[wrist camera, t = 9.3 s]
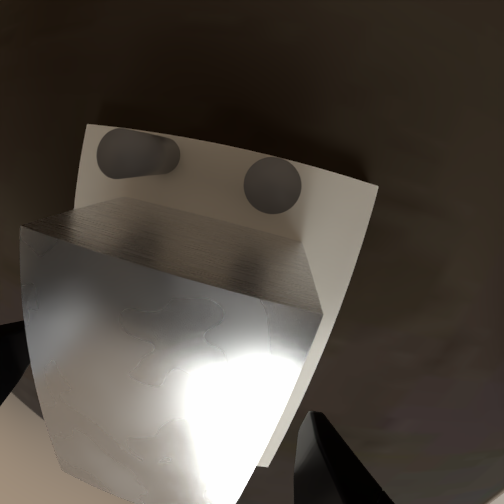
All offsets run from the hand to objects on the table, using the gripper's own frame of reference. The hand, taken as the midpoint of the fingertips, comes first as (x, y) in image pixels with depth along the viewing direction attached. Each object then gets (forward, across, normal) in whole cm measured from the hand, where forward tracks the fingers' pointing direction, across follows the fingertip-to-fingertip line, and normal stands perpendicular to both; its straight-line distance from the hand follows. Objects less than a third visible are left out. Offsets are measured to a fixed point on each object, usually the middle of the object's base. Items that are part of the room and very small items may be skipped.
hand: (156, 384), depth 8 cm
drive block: (+3, 0, 0) cm, 3 cm away
